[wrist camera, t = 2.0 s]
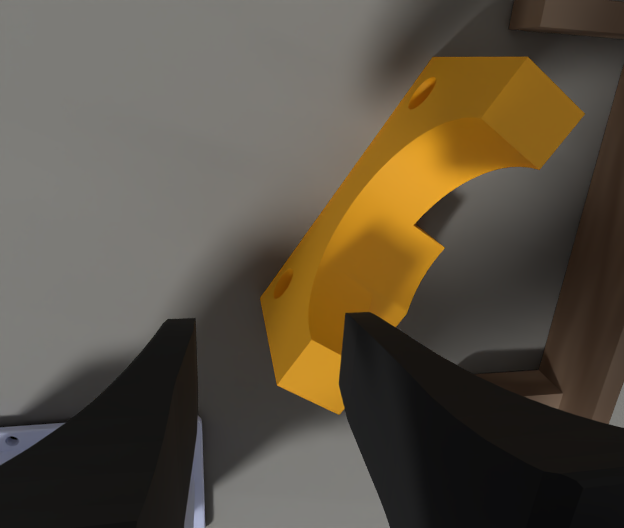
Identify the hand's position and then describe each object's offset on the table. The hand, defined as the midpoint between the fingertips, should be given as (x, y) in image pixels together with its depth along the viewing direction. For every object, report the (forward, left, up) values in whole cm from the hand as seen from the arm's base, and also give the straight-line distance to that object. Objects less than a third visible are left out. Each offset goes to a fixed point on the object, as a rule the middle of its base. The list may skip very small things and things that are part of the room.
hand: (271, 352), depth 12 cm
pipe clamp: (+6, +1, -10) cm, 11 cm away
